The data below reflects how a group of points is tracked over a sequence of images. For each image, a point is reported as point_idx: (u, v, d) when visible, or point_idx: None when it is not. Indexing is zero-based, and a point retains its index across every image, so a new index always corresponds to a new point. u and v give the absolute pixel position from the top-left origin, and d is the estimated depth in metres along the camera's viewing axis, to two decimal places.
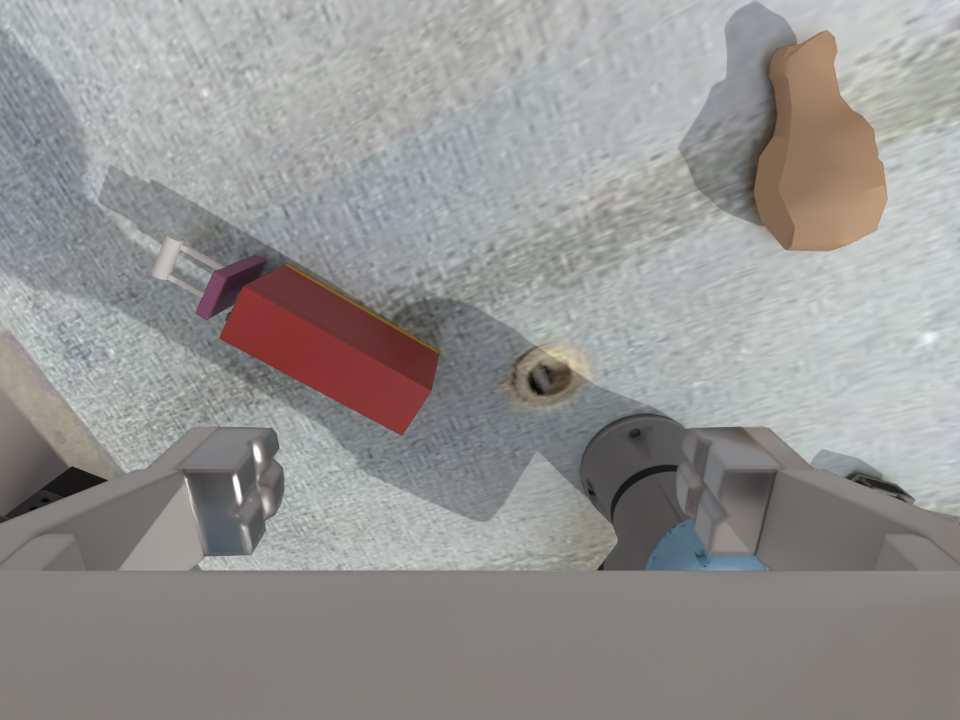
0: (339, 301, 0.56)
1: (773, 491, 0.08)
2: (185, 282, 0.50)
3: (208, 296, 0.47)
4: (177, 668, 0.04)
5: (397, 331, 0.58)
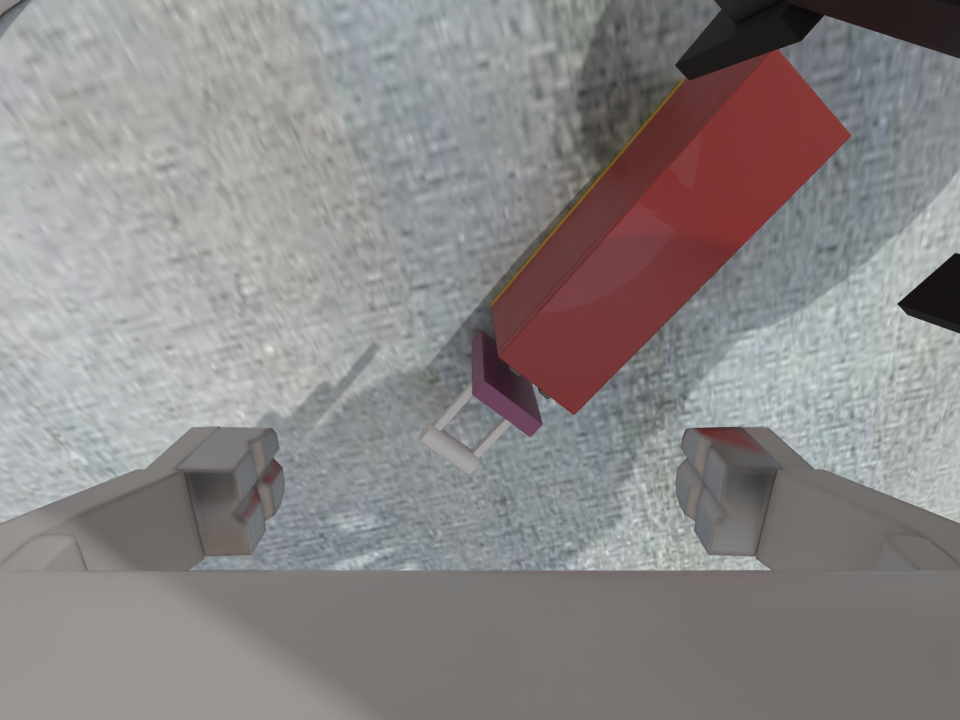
0: (558, 234, 0.35)
1: (773, 491, 0.08)
2: (487, 437, 0.35)
3: (507, 411, 0.31)
4: (177, 668, 0.04)
5: (627, 149, 0.34)
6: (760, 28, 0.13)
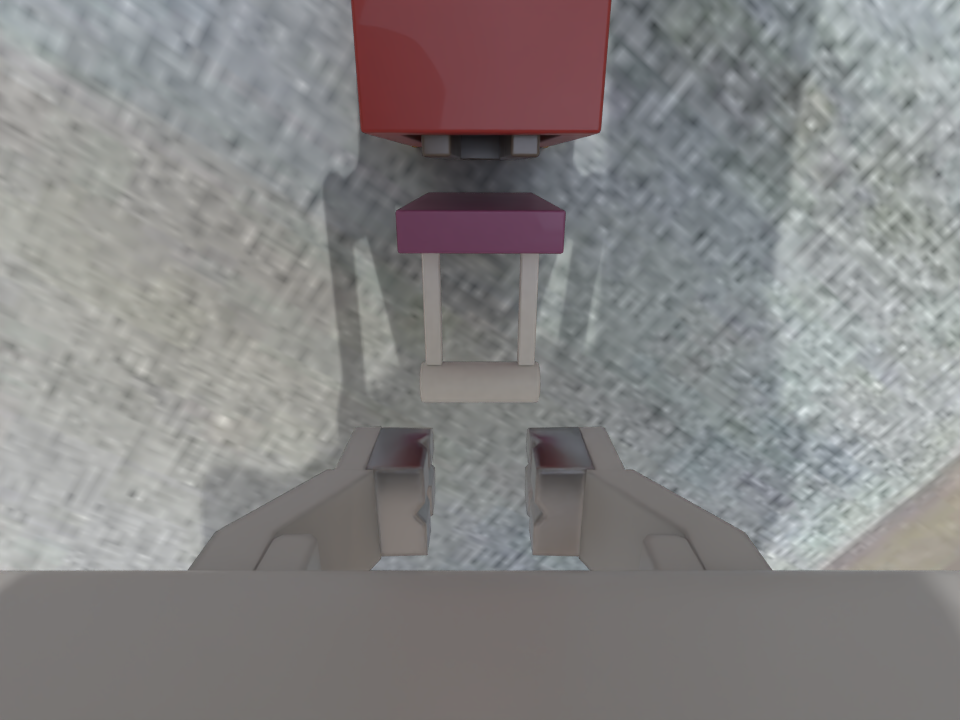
0: None
1: (585, 491, 0.08)
2: None
3: (483, 236, 0.14)
4: (177, 668, 0.04)
5: None
6: None
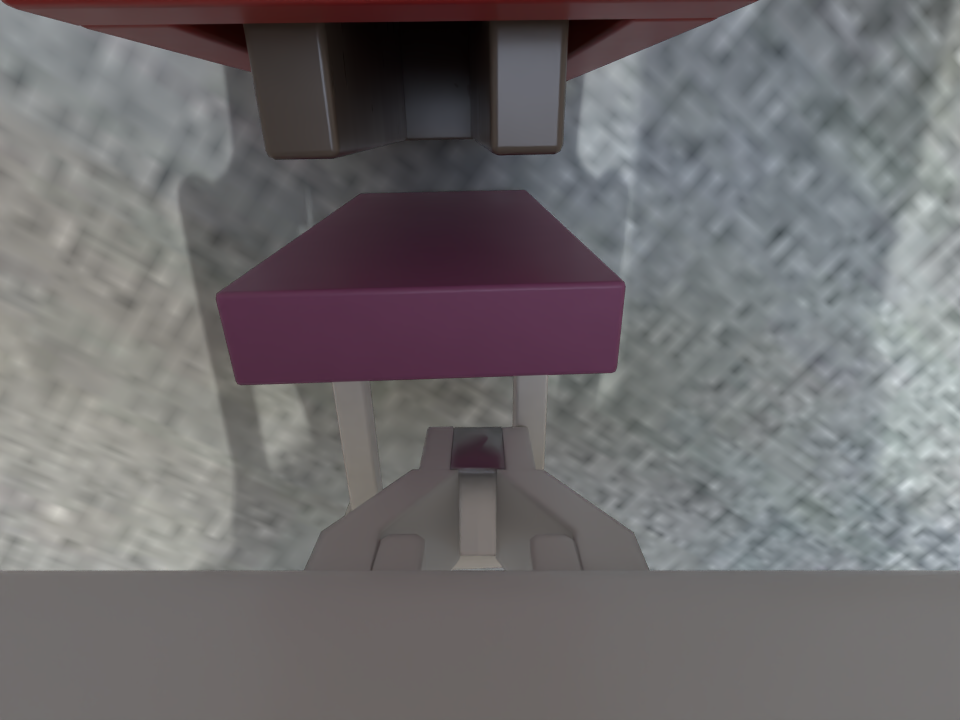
0: None
1: (497, 491, 0.08)
2: None
3: (433, 345, 0.06)
4: (177, 668, 0.04)
5: None
6: None
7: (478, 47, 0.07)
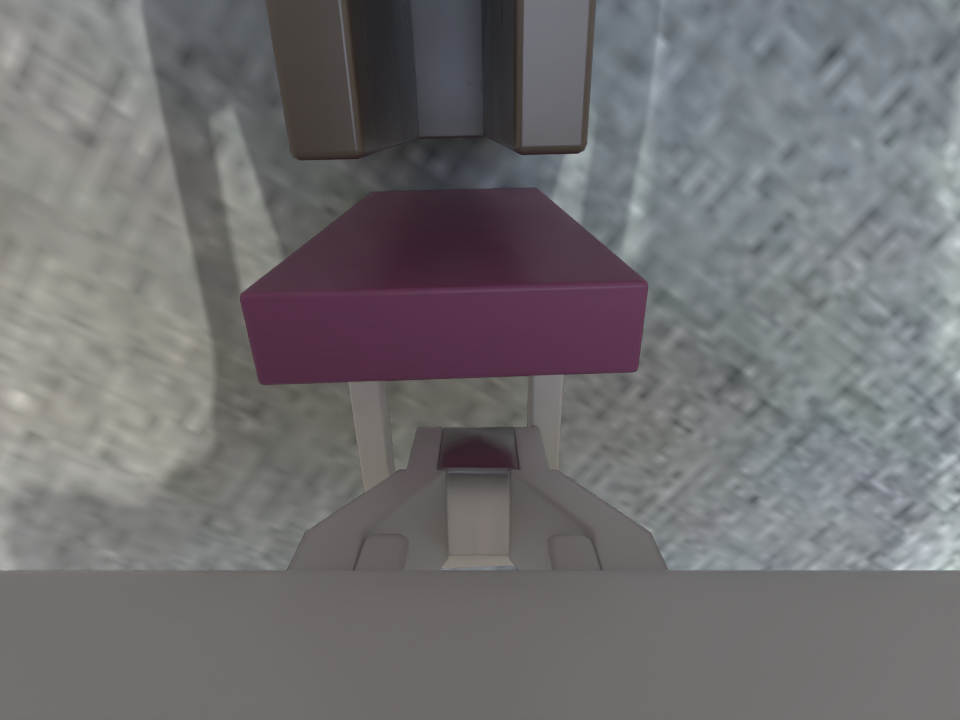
0: None
1: (510, 491, 0.08)
2: None
3: (456, 344, 0.06)
4: (177, 668, 0.04)
5: None
6: None
7: (497, 45, 0.07)
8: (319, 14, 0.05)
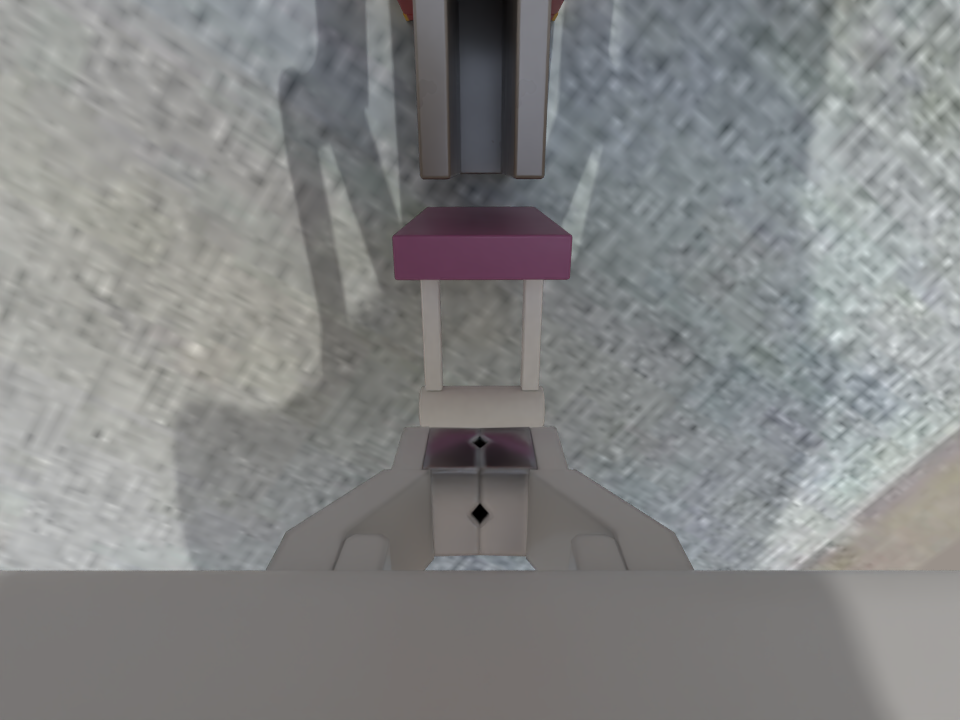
0: None
1: (529, 491, 0.08)
2: (522, 346, 0.17)
3: (485, 262, 0.14)
4: (177, 668, 0.04)
5: None
6: None
7: (508, 129, 0.15)
8: (438, 123, 0.13)
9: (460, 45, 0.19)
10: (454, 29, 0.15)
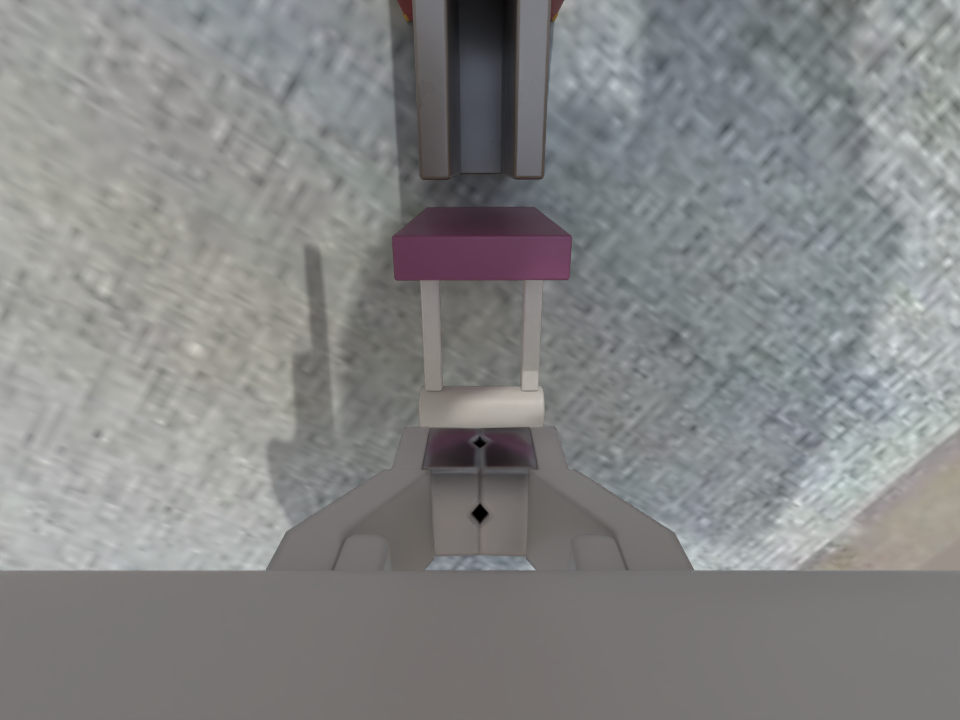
0: None
1: (529, 491, 0.08)
2: (522, 346, 0.17)
3: (485, 262, 0.14)
4: (177, 668, 0.04)
5: None
6: None
7: (508, 129, 0.15)
8: (438, 124, 0.13)
9: (460, 45, 0.19)
10: (454, 29, 0.15)
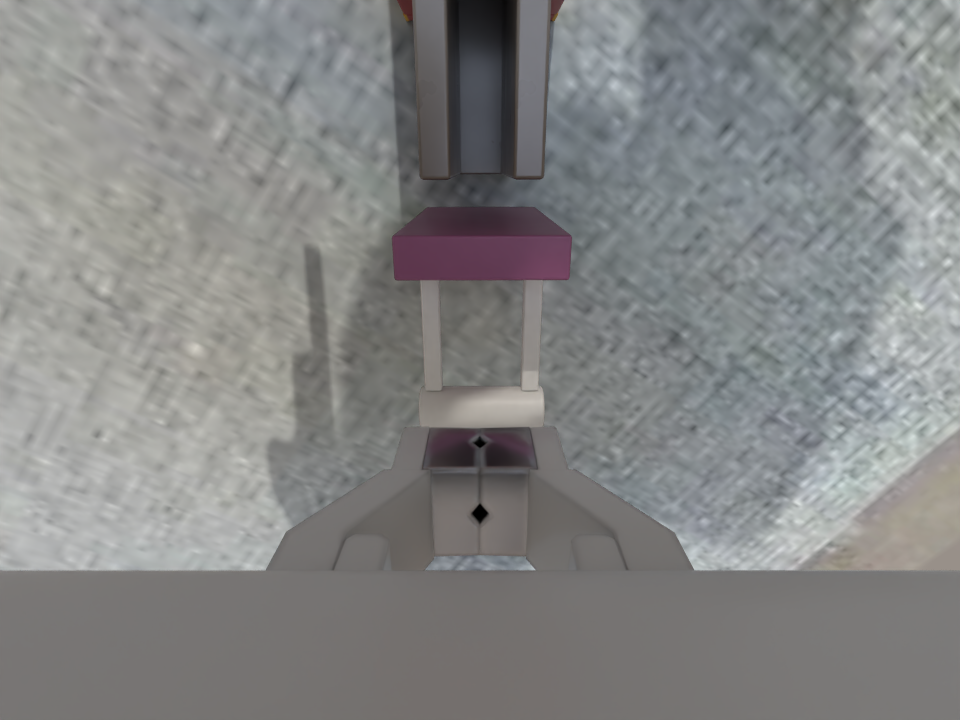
0: None
1: (529, 491, 0.08)
2: (522, 346, 0.17)
3: (485, 262, 0.14)
4: (177, 668, 0.04)
5: None
6: None
7: (508, 129, 0.15)
8: (438, 123, 0.13)
9: (460, 45, 0.19)
10: (454, 29, 0.15)
